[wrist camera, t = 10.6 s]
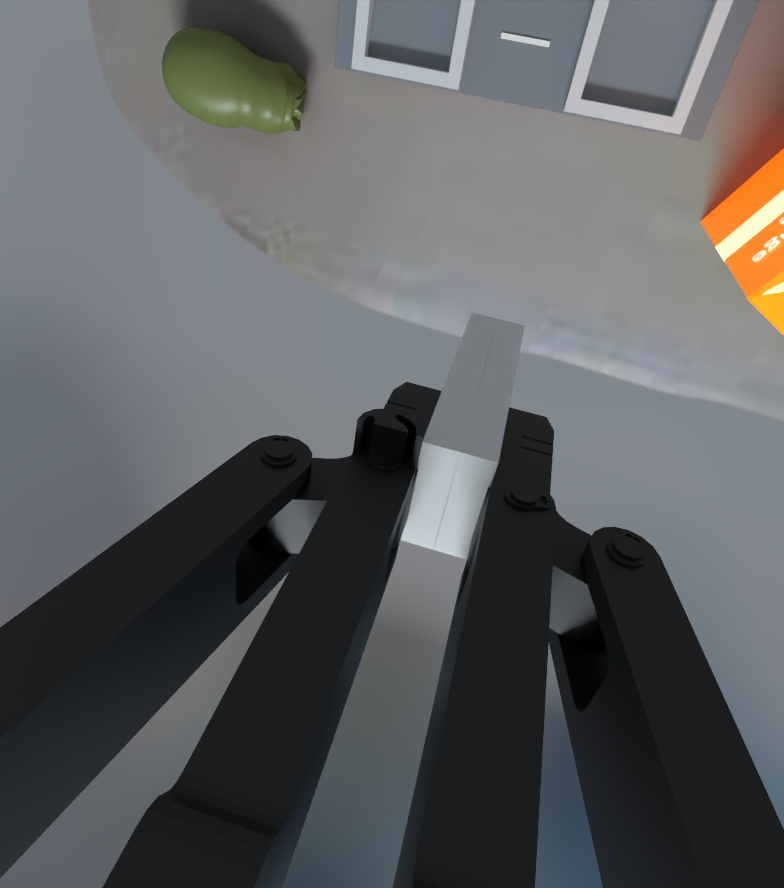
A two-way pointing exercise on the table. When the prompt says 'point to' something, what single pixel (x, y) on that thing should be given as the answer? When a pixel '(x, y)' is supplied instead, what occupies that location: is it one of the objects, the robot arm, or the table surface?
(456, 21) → the tray
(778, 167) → the orange juice
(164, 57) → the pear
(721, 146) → the table surface
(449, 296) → the table surface
